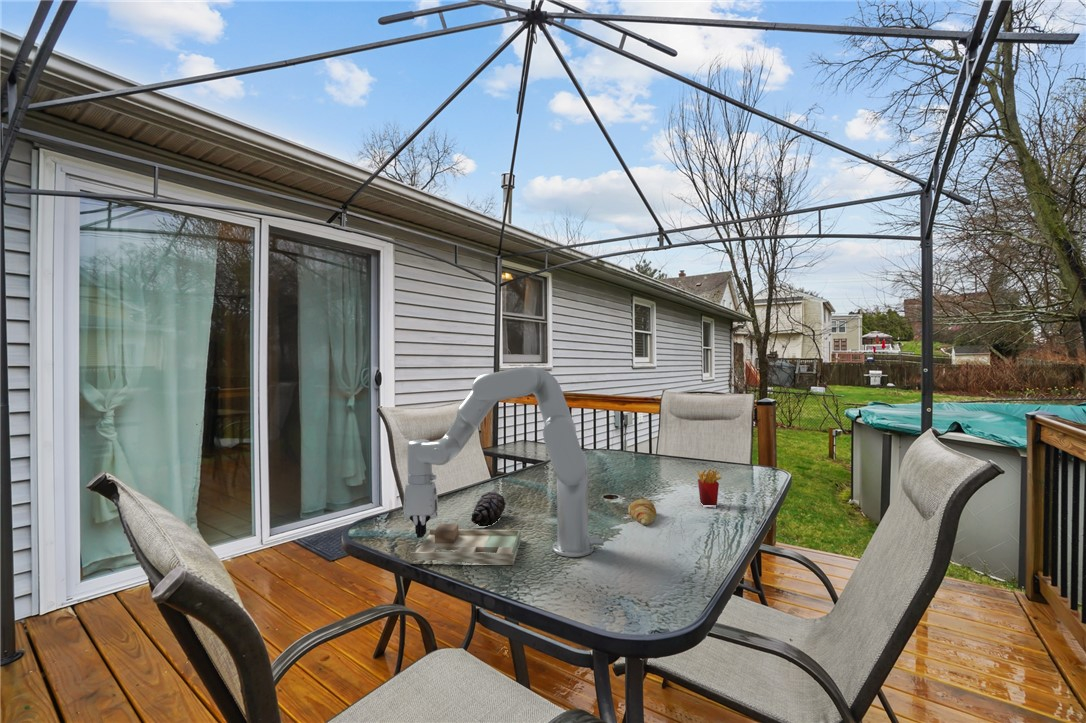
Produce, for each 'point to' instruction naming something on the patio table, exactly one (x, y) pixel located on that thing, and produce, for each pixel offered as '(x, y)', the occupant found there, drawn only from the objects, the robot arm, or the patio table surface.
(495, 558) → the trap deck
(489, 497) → the pine cone
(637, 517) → the croissant
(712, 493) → the french fries
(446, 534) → the walnut block
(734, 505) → the patio table surface
